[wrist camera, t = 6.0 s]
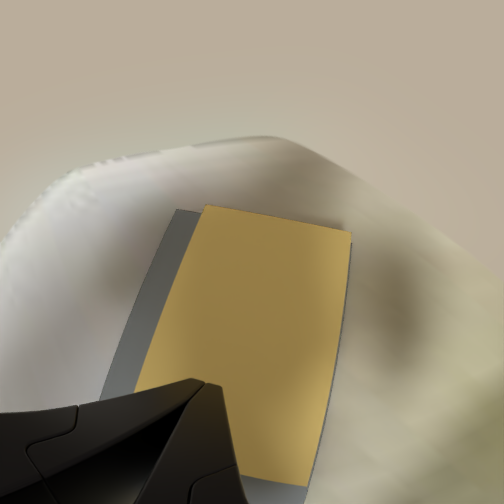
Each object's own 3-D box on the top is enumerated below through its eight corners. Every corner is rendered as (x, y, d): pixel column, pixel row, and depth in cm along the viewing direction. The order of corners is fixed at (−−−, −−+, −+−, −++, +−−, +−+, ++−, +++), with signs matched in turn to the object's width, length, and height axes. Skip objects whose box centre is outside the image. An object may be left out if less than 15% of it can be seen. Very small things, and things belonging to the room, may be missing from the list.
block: (306, 486, 10) (351, 232, 16) (120, 433, 11) (205, 204, 17) (300, 479, 12) (343, 252, 18) (136, 434, 13) (210, 225, 19)
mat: (289, 542, 10) (290, 544, 10) (81, 473, 12) (77, 474, 11) (350, 246, 19) (351, 243, 18) (177, 212, 20) (176, 208, 20)
